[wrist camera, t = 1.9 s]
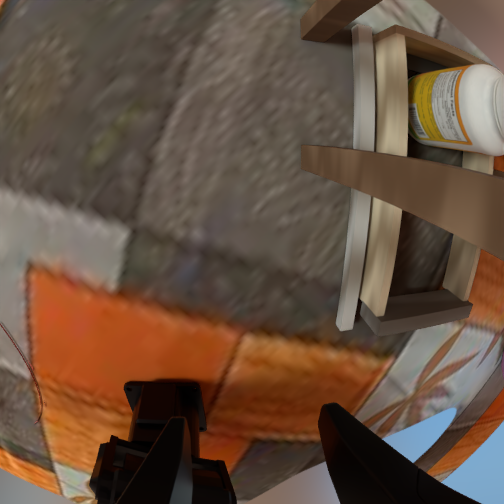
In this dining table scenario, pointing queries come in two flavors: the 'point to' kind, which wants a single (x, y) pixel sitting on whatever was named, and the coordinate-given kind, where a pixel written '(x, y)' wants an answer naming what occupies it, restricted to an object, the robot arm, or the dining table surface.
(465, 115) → the supplement bottle
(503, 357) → the teapot
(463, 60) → the wooden rack
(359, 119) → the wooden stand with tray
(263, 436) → the dining table surface
